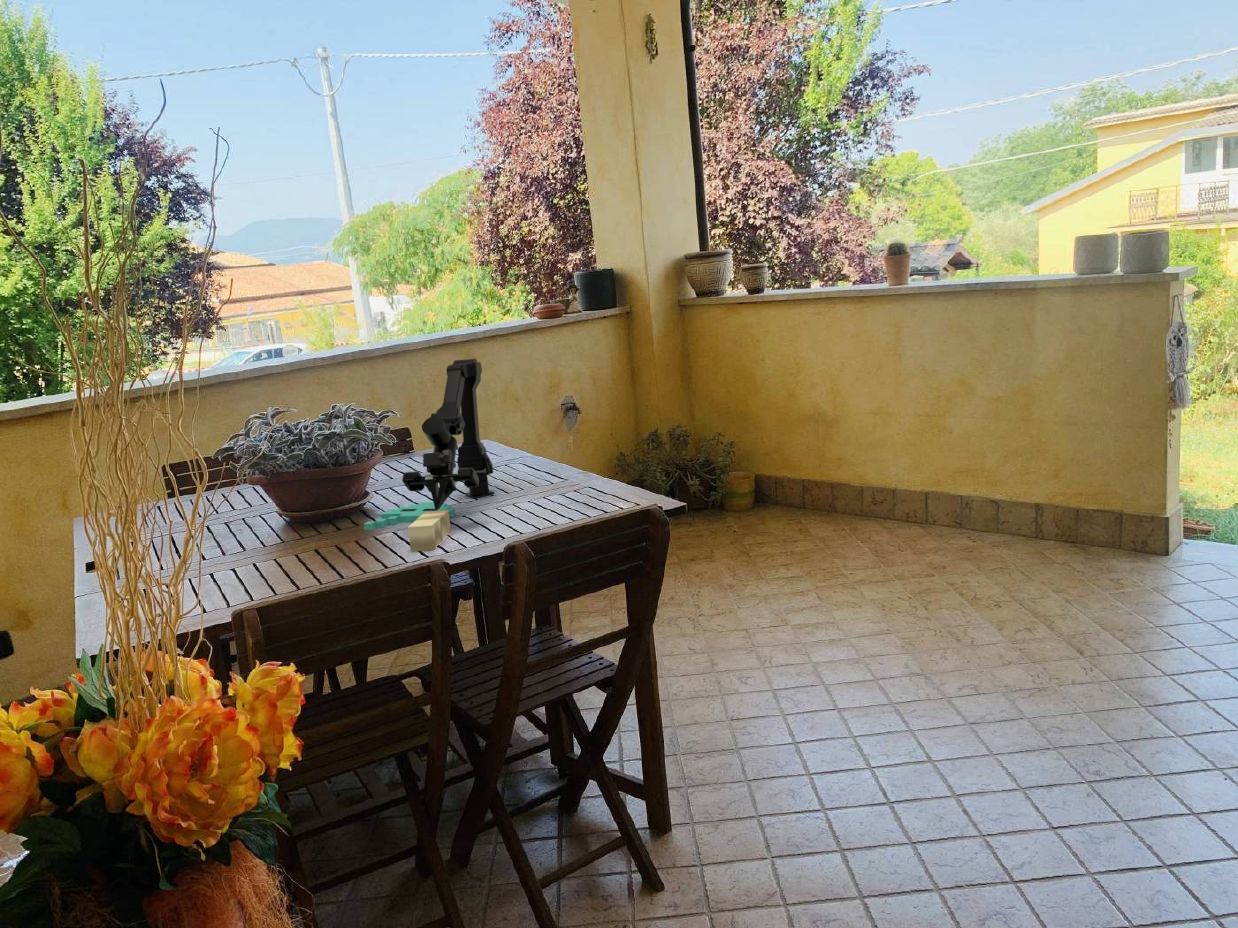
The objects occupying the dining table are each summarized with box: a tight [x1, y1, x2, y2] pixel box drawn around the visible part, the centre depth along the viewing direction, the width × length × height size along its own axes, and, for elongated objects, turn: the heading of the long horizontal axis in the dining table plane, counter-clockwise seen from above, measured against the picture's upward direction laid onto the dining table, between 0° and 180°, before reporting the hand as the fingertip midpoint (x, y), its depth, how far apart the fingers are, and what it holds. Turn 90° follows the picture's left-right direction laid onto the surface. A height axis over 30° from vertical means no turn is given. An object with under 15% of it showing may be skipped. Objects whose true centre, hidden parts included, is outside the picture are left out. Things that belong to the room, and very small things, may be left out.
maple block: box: [407, 511, 452, 552], centre depth 224 cm, size 6×6×13 cm
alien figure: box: [363, 501, 456, 531], centre depth 247 cm, size 20×2×20 cm
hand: (436, 508), depth 229 cm, fingers closed
